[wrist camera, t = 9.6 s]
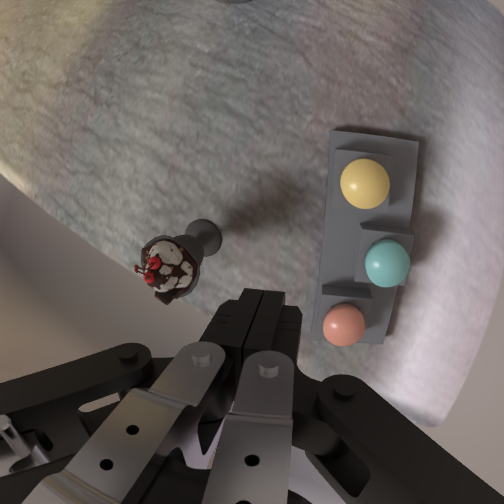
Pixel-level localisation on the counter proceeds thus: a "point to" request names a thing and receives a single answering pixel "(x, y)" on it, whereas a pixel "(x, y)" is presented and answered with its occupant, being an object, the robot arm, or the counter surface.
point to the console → (363, 230)
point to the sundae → (178, 260)
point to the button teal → (387, 263)
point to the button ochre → (364, 183)
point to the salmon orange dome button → (343, 325)
